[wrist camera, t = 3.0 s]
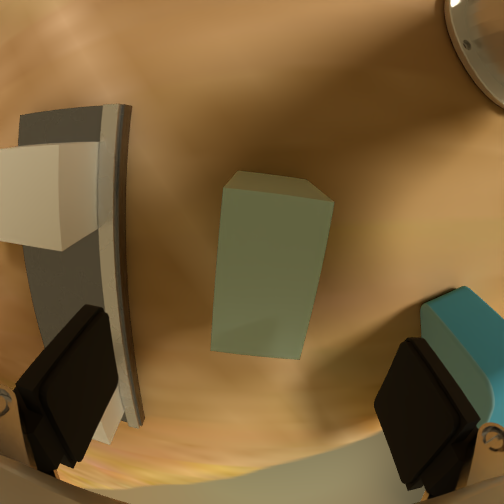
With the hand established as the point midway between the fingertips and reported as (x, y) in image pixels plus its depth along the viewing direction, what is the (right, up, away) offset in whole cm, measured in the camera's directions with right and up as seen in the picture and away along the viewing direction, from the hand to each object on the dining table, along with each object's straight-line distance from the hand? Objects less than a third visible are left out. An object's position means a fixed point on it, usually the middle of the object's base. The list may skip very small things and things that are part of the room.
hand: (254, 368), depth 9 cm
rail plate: (-15, 0, +14) cm, 21 cm away
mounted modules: (-15, 0, +13) cm, 20 cm away
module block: (+1, +5, +12) cm, 13 cm away
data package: (+18, -5, +15) cm, 24 cm away
